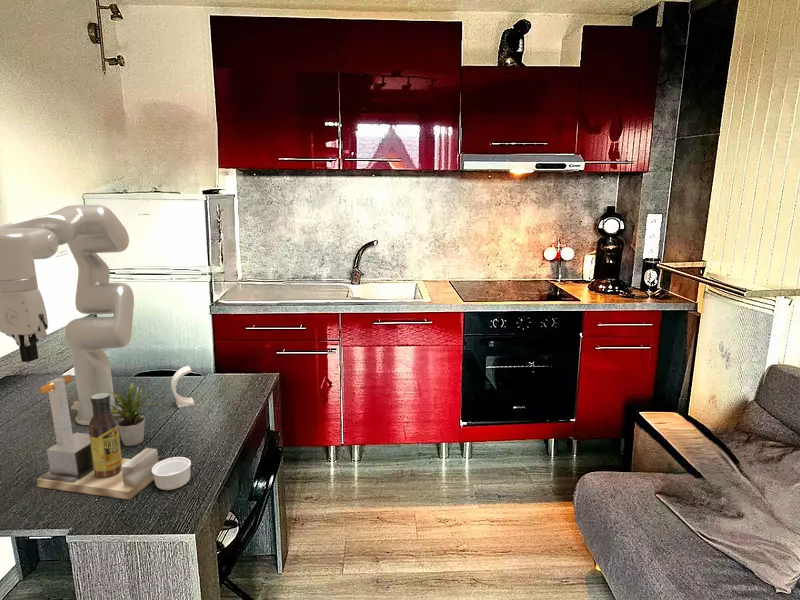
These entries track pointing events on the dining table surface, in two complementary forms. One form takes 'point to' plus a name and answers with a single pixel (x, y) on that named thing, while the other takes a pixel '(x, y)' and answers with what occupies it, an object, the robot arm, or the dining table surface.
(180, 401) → the white curved arc piece
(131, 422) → the house plant
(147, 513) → the dining table surface
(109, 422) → the sauce bottle
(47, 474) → the clamp base
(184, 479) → the ramekin
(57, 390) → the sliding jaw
